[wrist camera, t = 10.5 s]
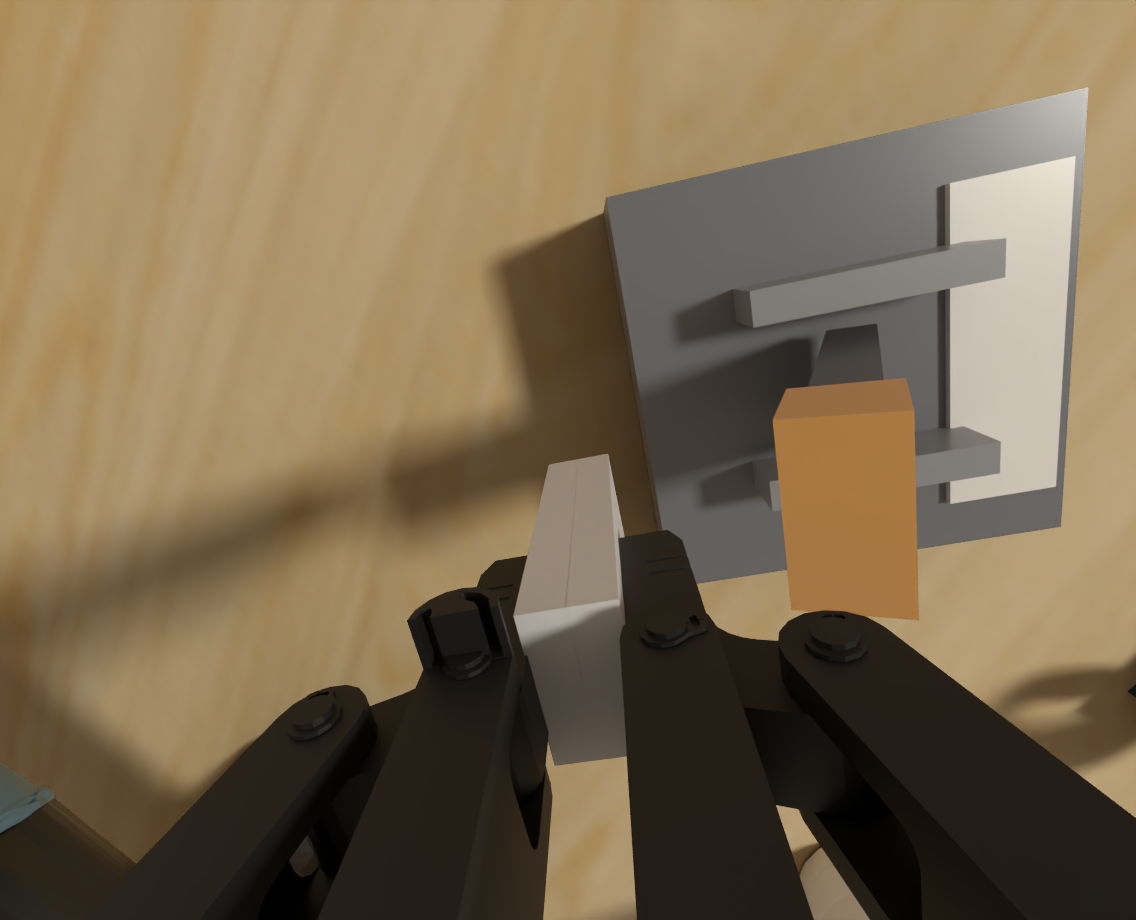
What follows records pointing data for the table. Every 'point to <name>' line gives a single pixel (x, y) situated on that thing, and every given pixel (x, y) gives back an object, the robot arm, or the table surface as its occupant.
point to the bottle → (828, 891)
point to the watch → (1133, 691)
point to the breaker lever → (849, 483)
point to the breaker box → (860, 320)
